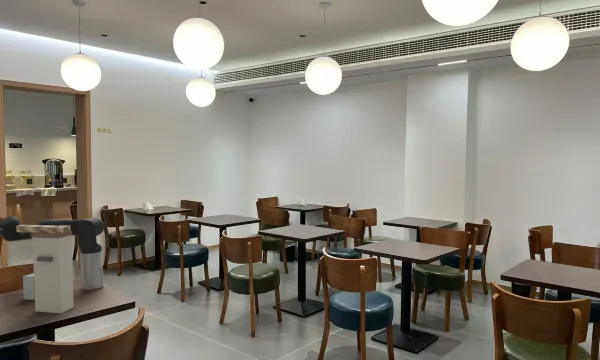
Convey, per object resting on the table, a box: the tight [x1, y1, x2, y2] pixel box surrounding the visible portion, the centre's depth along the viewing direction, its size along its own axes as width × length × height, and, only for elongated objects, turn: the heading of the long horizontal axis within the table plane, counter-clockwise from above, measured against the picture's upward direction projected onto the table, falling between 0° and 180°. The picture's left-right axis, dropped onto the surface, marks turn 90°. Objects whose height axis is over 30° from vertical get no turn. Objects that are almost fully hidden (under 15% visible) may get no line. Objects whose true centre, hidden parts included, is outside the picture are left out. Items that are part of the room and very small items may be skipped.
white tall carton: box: [31, 231, 75, 314], centre depth 176 cm, size 13×9×32 cm
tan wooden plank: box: [16, 224, 71, 234], centre depth 176 cm, size 22×5×2 cm, turn 79°
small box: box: [22, 272, 35, 301], centre depth 192 cm, size 8×6×10 cm
